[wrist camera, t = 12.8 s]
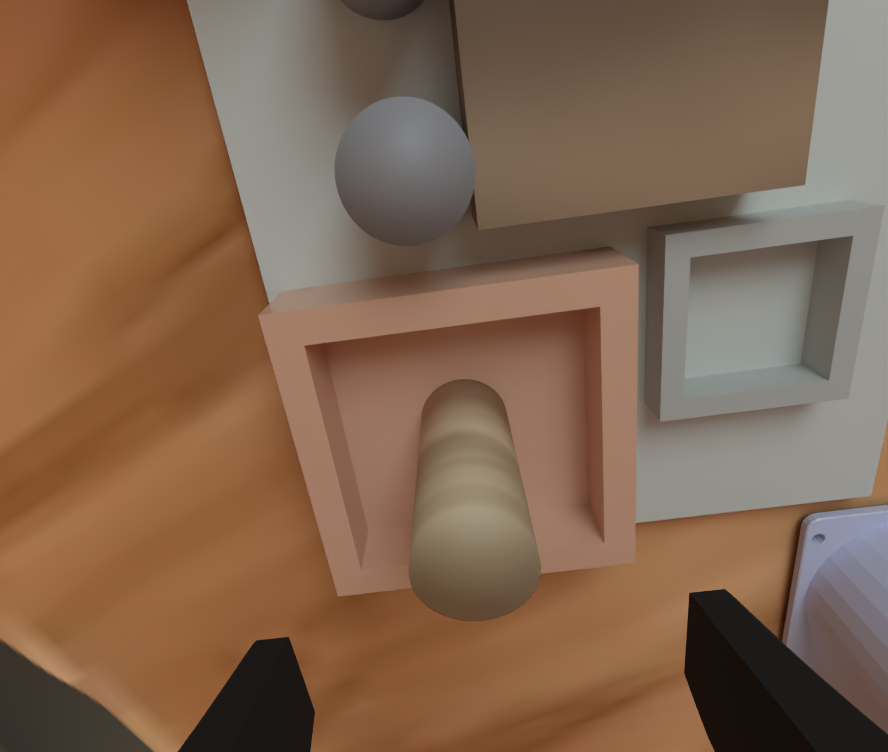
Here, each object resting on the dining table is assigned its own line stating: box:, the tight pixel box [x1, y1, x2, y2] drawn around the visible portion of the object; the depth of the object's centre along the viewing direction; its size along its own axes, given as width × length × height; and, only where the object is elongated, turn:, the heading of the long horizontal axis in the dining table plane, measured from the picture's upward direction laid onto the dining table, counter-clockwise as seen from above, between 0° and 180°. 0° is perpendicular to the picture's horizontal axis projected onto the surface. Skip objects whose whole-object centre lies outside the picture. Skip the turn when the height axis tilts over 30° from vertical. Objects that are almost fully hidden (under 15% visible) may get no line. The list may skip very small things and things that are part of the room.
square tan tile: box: [449, 0, 829, 230], centre depth 13 cm, size 8×8×2 cm
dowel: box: [408, 379, 541, 621], centre depth 15 cm, size 3×3×7 cm
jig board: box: [187, 0, 888, 523], centre depth 15 cm, size 21×20×5 cm
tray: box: [258, 246, 639, 596], centre depth 17 cm, size 10×10×2 cm
